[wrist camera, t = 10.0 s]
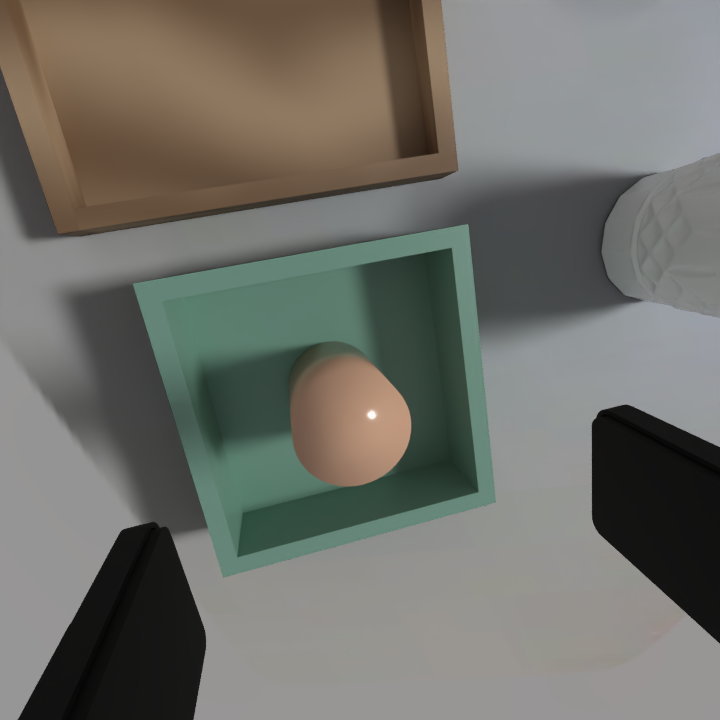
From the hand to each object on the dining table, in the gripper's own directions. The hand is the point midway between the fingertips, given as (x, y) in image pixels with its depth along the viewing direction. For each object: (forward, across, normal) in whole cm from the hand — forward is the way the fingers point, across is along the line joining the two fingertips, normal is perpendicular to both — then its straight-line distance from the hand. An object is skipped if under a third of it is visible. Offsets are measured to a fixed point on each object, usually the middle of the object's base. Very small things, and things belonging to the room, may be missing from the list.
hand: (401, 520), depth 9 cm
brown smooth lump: (+12, 0, +1) cm, 13 cm away
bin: (+13, 0, +1) cm, 13 cm away
